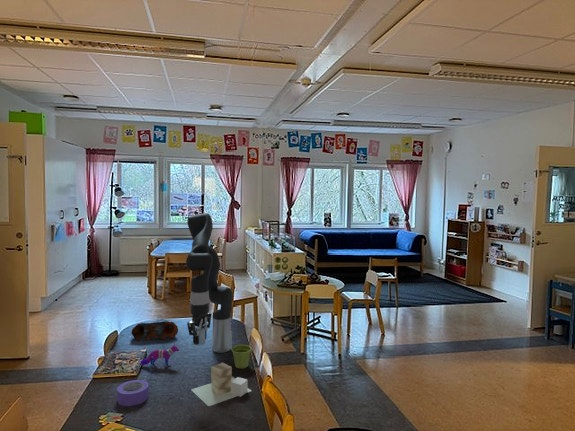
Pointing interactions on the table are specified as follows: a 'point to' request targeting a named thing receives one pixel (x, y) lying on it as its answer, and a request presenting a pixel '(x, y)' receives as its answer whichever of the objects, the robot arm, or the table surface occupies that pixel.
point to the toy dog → (160, 355)
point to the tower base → (221, 387)
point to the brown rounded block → (154, 330)
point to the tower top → (221, 373)
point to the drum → (201, 336)
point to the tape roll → (132, 392)
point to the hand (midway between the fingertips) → (199, 341)
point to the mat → (212, 394)
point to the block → (239, 386)
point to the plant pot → (241, 355)
